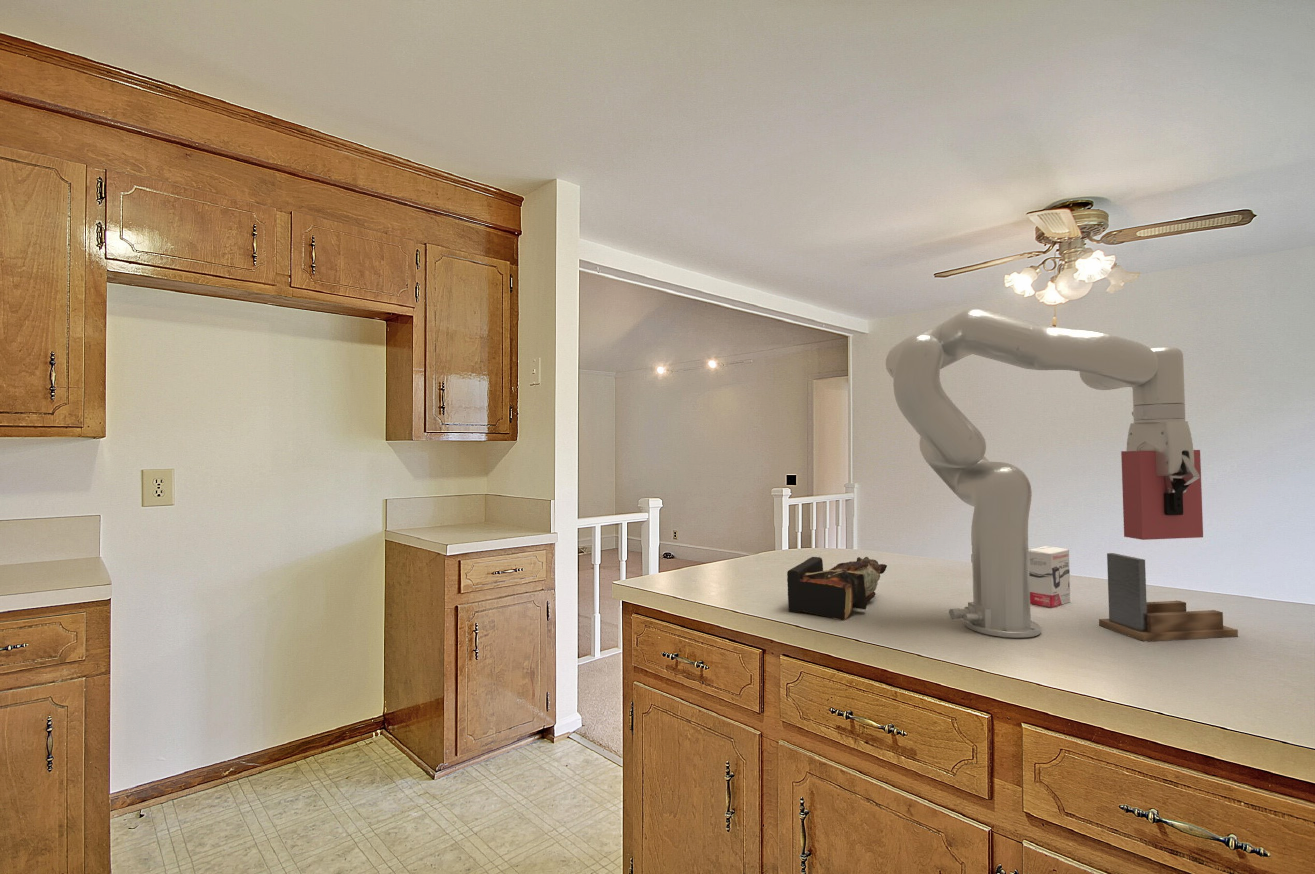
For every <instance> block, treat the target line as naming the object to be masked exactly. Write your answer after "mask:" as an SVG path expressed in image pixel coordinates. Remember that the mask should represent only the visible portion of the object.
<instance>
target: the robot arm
mask: <svg viewBox="0 0 1315 874" xmlns="http://www.w3.org/2000/svg"><path fill="white" fill-rule="evenodd" d="M971 355H975V356H979V357H982V358H985V359H988V360H989V359H990V360H992V361H993V360H994V361H997V362H1001V363H1005V364H1008V365H1011V366H1015V367H1017V368H1021V369H1025V370H1032V371H1033V370H1035V371H1073V372H1079V377H1080V380H1081V381H1082V382H1083V384H1085V385H1086V386H1087V387H1089V388H1091V389H1095V390H1099V391H1108V390H1110V391H1112V390H1117V389H1123V388H1132V406H1133V407H1132V412H1131V415H1132V419H1133V422H1132V423H1129V429H1128V433H1127V440H1126V450H1125V451H1156V474H1157V475H1158V476H1164V480H1165V485H1166V490H1167V492H1168V493H1164V511H1165V515H1183V493H1185V492H1186V488H1187V487H1188V486H1189V485H1190V484H1191V483H1192V482H1194V481H1196V480H1197V479H1199V477H1200V475H1199V474H1198V472H1197V471H1196V469H1195V467H1194V451H1193V450H1194V443H1193V438H1192V433H1191V428H1190V426H1189V425H1190V424H1189V422H1188V421H1186V402H1185V401H1186V397H1185V394H1186V393H1185V370H1184V353H1183V351H1182V350H1181V349H1180V348H1178V347H1173V346H1160V347H1148V346H1147V345H1145V344H1144V343H1141V342H1138V341H1135V340H1131V339H1127V338H1124V337H1120V336H1116V335H1112V334H1109V333H1104V332H1103V333H1102V332H1099V331H1090V330H1084V329H1083V330H1082V329H1073V328H1067V327H1058V326H1049V325H1044V324H1039V323H1036V322H1031V321H1028V320H1024V319H1022V318H1018V317H1013V316H1010V315H1006V314H1003V313H998V312H995V311H992V310H987V309H983V308H969V309H968V308H967V309H965V310H963V311H961V312H959V313H957V314H956V315H954V316H952V317H950V318H949V319H947V320H945V321H944V322H942V323H939V324H938V325H936V326H934V327H932V328H930V329H927V330H925V331H924V332H921V333H915V334H912V335H909V336H907V338H904V339H903V340H902V341H900V342H899V343H897V344H895V345H894V346H893V347H892V348H891V349H890V350H889V351H888V352H887V355H886V358H885V367H886V368H885V369H886V371H887V373H888V374H889V376H890V377H891V378H893V382H892V383H893V394H894V398H895V401H896V404H897V406H898V409H899V410H900V412H901V414H902V416H903V417H904V418H905V419H906V421H907V422H908V423H909V425H911V427H912V428H913V429H914V430H915V432H916V433H917V434H918V435H919V437H920V438H919V441H918V442H919V450H920V452H921V456H922V457H923V459H924V461H925V462H926V463H927V464H928V466H930V468H931V469H932V470H933V472H935V473H936V475H938V477H939V478H940V479H941V480H942V482H944V483H945V484H946V486H947V487H948V488H949V489H950V490H951V491H952V492H953V494H955V495H956V496H957V497H958V498H959V499H960V500H961V501H962V502H963V503H965V504H966V505H969V506H971V507H973V514H972V519H971V527H970V529H971V531H970V536H971V539H970V540H971V564H972V566H971V567H972V569H971V570H972V593H973V594H972V596H973V597H972V598H973V599H972V601H968V602H967V606H965V607H964V608H949V610H948V616H949V618H950V619H951V620H959V619H960V620H961V619H963V620H964V624H965V626H966V627H967V628H968V629H969V630H972V631H974V632H976V633H977V632H978V633H980V634H984V635H989V636H994V637H1000V638H1011V639H1021V638H1023V639H1024V638H1033V637H1037V636H1038V635H1040V634H1041V633H1042V632H1041V631H1042V628H1041V627H1042V626H1041V625H1040V624H1039V623H1038V622H1036V621H1034V620H1031V616H1032V614H1031V613H1032V612H1031V604H1030V579H1029V550H1030V548H1029V518H1030V511H1031V504H1032V495H1033V494H1032V487H1031V481H1030V480H1029V478H1028V476H1027V475H1026V474H1025V472H1024V471H1023V470H1022V469H1020V468H1019V467H1017V466H1015V465H1013V464H1011V463H1008V462H1002V461H990V460H988V459H987V457H986V456H985V454H986V452H987V442H986V438H985V437H984V435H983V434H982V432H981V431H980V430H979V429H978V427H977V426H975V424H974V423H973V422H972V421H971V420H970V419H968V417H967V416H966V415H965V413H963V412H962V411H961V409H959V407H958V406H956V404H955V403H954V402H953V400H951V398H950V397H949V396H948V395H947V392H945V390H944V389H943V386H942V384H941V383H942V382H941V378H940V372H941V370H942V369H944V368H946V367H948V366H950V365H952V364H954V363H956V362H958V361H960V360H962V359H965V358H966V357H968V356H971ZM1174 473H1176V475H1173V474H1174ZM1173 479H1176V482H1175V483H1174V482H1173Z"/></svg>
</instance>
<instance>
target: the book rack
mask: <svg viewBox="0 0 1315 874" xmlns="http://www.w3.org/2000/svg"><path fill="white" fill-rule="evenodd" d="M1146 602H1147V632H1140V631H1137V630H1134V629H1131V628H1128V627H1125V626H1122V625H1119V624H1116V623H1113V622H1110V621H1109V618H1098V626H1100V627H1103V628H1105V629H1109V630H1111V631H1114V632H1117V633H1119V634H1122V633H1123V634H1122V635H1125V634H1126V635H1125V636H1127V635H1129V636H1128V637H1131V638H1132V639H1133V638H1134V639H1136V640H1139V641H1141V640H1142V641H1141V642H1144V641H1148V642H1163V641H1165V640H1166V641H1181V640H1199V639H1217V638H1218V639H1219V638H1232V637H1233V638H1235V637H1236V638H1237V637H1238V638H1239V631H1238V629H1236V628H1233V627H1230V626H1226V625H1224V613H1223V611H1220V610H1215V609H1211V610H1210V609H1209V610H1194V611H1193V610H1191V611H1187V602H1185V601H1182V600H1167V601H1165V600H1164V601H1162V600H1161V601H1146Z"/></svg>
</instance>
